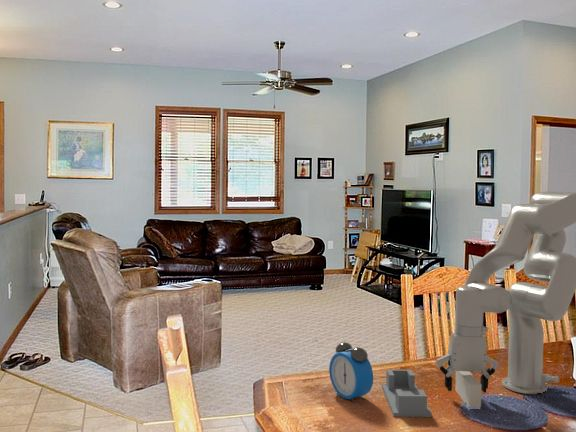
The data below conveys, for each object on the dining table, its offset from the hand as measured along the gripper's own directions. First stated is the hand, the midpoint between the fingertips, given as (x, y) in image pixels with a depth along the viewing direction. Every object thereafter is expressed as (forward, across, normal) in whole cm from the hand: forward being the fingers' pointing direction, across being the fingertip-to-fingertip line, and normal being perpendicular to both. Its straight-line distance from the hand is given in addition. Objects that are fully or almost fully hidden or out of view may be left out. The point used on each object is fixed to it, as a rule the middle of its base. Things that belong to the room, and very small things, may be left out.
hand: (465, 390), depth 156 cm
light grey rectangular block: (+3, -1, 0) cm, 3 cm away
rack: (+3, +17, +2) cm, 18 cm away
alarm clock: (+4, +32, -1) cm, 33 cm away
